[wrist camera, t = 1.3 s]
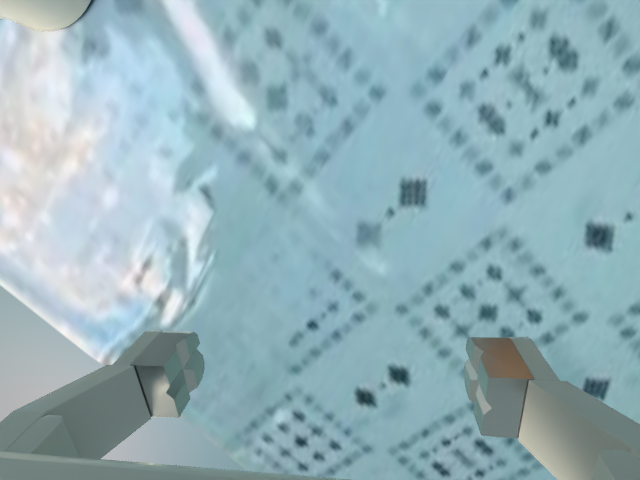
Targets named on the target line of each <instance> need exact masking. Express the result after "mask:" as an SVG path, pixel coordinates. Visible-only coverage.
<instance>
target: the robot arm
mask: <svg viewBox="0 0 640 480" xmlns="http://www.w3.org/2000/svg"><path fill="white" fill-rule="evenodd" d="M90 1H91V0H0V19H3V18H5V19H8V20H11V21H13V22H16V23H18V24H20V25H23V26H25V27H28V28H31V29H34V30H39V31H55V30H59V29H62V28H65V27H67V26H69V25H71V24H72V23H74V22H75V21H76V20H77V19H78V18H79V17H80V16H81V15H82V14H83V13H84V11H85V10H86V9H87V7H88V5H89V3H90ZM199 344H200V342H199V338H198V335H197V334H196V333H195V332H187V331H161V330H149V331H146V332H144V333H143V334H142V335H141V336H140V337H139V338H138V339H137V340H136V341H135V342H134V343H133V344H132V345H131V346H130V347H129V348H128V349H127V350H126V351H125V353H124V354H123V355H122V356H121V357H120V358H119V359H118V360H117V361H116V362H115V363H114V364H113V365H106V366H104V367H102V368H100V369H98V370H96V371H94V372H92V373H90V374H88V375H86V376H84V377H82V378H80V379H78V380H76V381H74V382H72V383H70V384H68V385H66V386H63V387H61V388H59V389H57V390H55V391H53V392H51V393H49V394H47V395H45V396H43V397H41V398H39V399H37V400H35V401H33V402H31V403H29V404H27V405H25V406H23V407H21V408H19V409H17V410H15V411H13V412H12V413H11V414H9V415H8V416H7V417H6V418H5V419H4V420H2V421H1V422H0V480H350V479H338V478H325V477H313V476H301V475H288V474H276V473H263V472H251V471H238V470H226V469H213V468H201V467H189V466H177V465H164V464H151V463H139V462H127V461H114V460H102V459H101V458H102V457H103V456H104V455H106V454H107V453H108V452H109V451H111V450H112V449H113V448H115V447H116V446H117V445H118V444H120V443H121V442H122V441H123V440H125V439H126V438H127V437H128V436H130V435H131V434H132V433H133V432H135V431H136V430H137V429H138V428H140V427H141V426H142V425H143V424H144V423H146V422H147V421H148V420H150V419H151V417H177V418H179V417H180V415H181V413H182V412H183V410H184V409H185V407H186V405H187V404H188V402H189V400H190V395H189V392H191V391H192V390H194V389H195V388H197V387H198V385H199V384H200V382H201V380H202V377H203V373H204V358H203V355H202V354H201V353H200V352H199V351H198V350H197V347H198V346H199ZM466 351H467V354H468V357H469V359H468V360H467V361H466V362H465V366H464V379H465V387H466V391H467V394H468V398H469V399H470V400H471V401H472V402H473V403H474V416H475V419H476V421H477V424H478V427H479V430H480V433H481V435H483V436H495V437H506V438H518V441H519V442H520V443H521V444H522V445H523V446H524V447H525V448H526V449H527V450H528V451H529V452H530V453H531V454H532V455H533V456H534V457H535V458H536V459H537V460H538V461H539V462H540V463H541V464H542V465H544V466H545V467H546V468H547V469H548V470H549V471H550V472H551V473H552V474H553V475H554V476H555V477H556V478H557V479H558V480H640V424H638V423H636V422H635V421H633V420H631V419H630V418H628V417H626V416H625V415H623V414H621V413H619V412H618V411H616V410H614V409H613V408H611V407H609V406H608V405H606V404H604V403H603V402H601V401H599V400H598V399H596V398H594V397H593V396H591V395H589V394H588V393H586V392H584V391H582V390H581V389H579V388H577V387H576V386H574V385H572V384H571V383H569V382H567V381H560V380H559V379H558V377H557V376H556V374H555V373H554V371H553V370H552V368H551V367H550V366H549V364H548V363H547V361H546V360H545V358H544V357H543V355H542V354H541V353H540V351H539V350H538V348H537V347H536V345H535V344H534V342H533V341H532V340H531V339H530V338H528V337H507V338H488V337H468V340H467V344H466Z"/></svg>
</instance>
